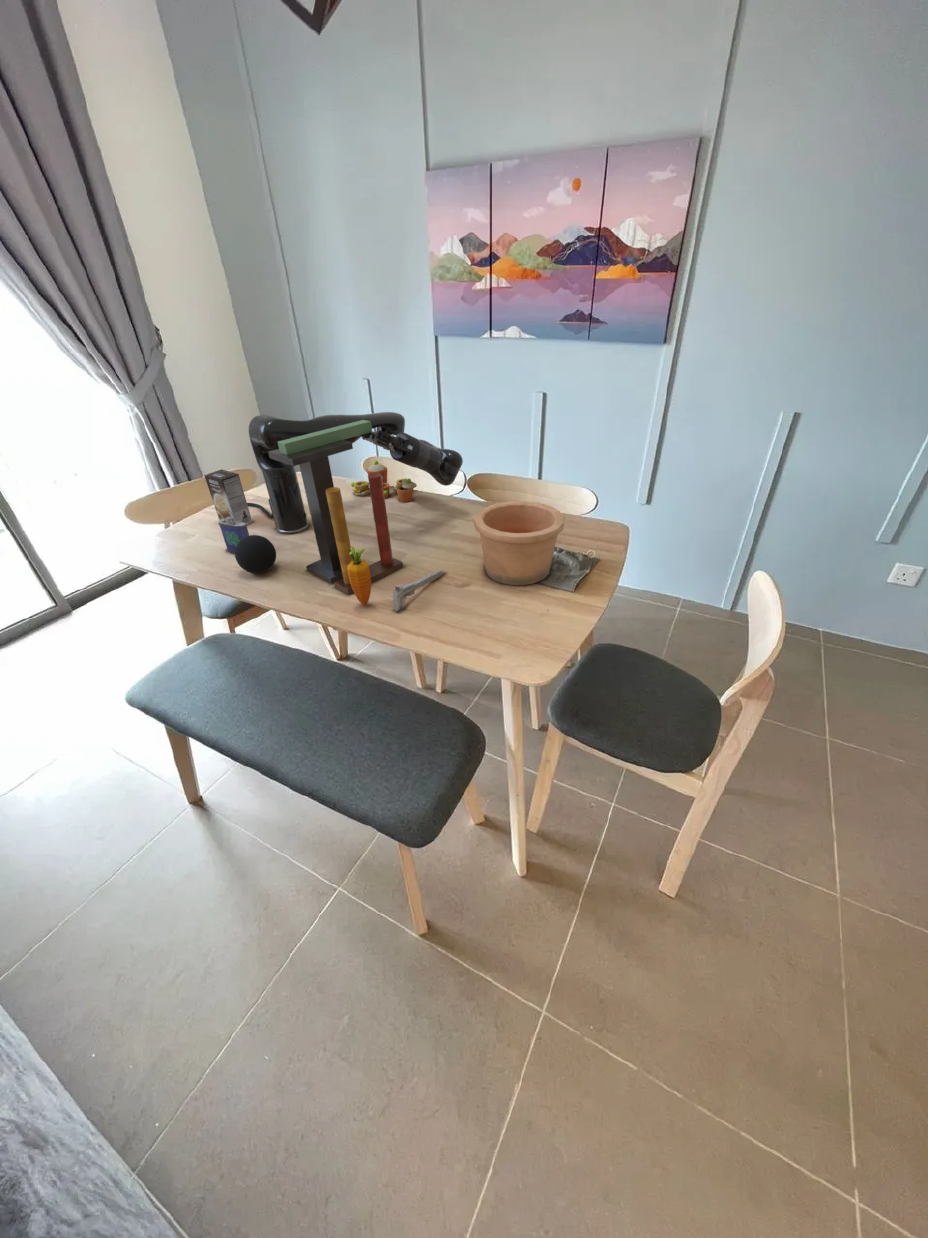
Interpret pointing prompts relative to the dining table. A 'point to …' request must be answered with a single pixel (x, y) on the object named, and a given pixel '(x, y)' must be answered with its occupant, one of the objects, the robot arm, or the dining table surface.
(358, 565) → the carrot
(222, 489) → the coffee box
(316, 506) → the stand
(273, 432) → the robot arm
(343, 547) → the rod rack
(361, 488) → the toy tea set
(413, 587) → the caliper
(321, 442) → the bar
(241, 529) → the blue clover container
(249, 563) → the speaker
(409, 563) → the dining table surface
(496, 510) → the pottery
